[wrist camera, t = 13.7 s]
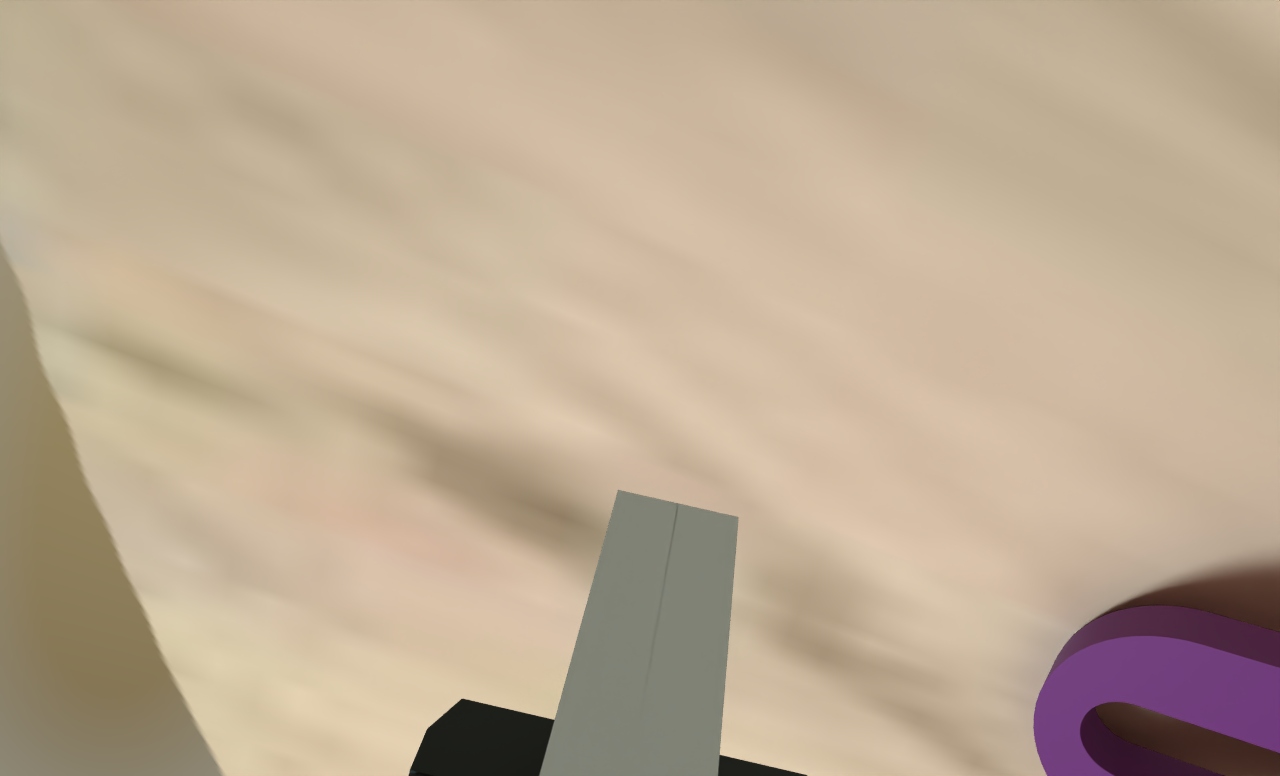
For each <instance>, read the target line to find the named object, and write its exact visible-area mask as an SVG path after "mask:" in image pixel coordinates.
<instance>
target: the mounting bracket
mask: <svg viewBox="0 0 1280 776" xmlns="http://www.w3.org/2000/svg"><path fill="white" fill-rule="evenodd" d="M1108 702H1124V703H1129V704H1133V705H1137V706H1140V707H1143V708H1146V709H1149V710H1152V711H1155V712H1158V713H1161V714H1164V715H1167V716H1170V717H1173V718H1176V719H1179V720H1182V721H1185V722H1188V723H1191V724H1194V725H1197V726H1200V727H1203V728H1206V729H1209V730H1212V731H1215V732H1218V733H1221V734H1224V735H1227V736H1230V737H1233V738H1236V739H1239V740H1242V741H1245V742H1248V743H1251V744H1254V745H1257V746H1260V747H1263V748H1266V749H1269V750H1272V751H1275V752H1278V753H1280V632H1277V631H1273V630H1270V629H1266V628H1263V627H1259V626H1256V625H1252V624H1249V623H1245V622H1242V621H1238V620H1235V619H1231V618H1228V617H1224V616H1221V615H1217V614H1214V613H1210V612H1206V611H1202V610H1198V609H1192V608H1186V607H1180V606H1165V605H1156V606H1140V607H1132V608H1128V609H1123V610H1119V611H1116V612H1113V613H1110V614H1107V615H1104V616H1102V617H1100V618H1098V619H1096V620H1094V621H1092V622H1090V623H1089V624H1087V625H1086V626H1084V627H1083V628H1081V629H1080V630H1079V631H1078V632H1076V633H1075V634H1074V635H1073V636H1072V637H1071V638H1070V640H1069V641H1068V642H1067V643H1066V644H1065V646H1064V647H1063V649H1062V650H1061V652H1060V653H1059V655H1058V656H1057V658H1056V660H1055V662H1054V664H1053V666H1052V668H1051V671H1050V673H1049V675H1048V677H1047V679H1046V681H1045V683H1044V685H1043V687H1042V689H1041V691H1040V693H1039V696H1038V699H1037V702H1036V707H1035V713H1034V736H1035V742H1036V747H1037V751H1038V754H1039V757H1040V760H1041V763H1042V765H1043V767H1044V769H1045V772H1046V774H1047V776H1224V775H1221V774H1218V773H1215V772H1212V771H1209V770H1206V769H1204V768H1201V767H1198V766H1195V765H1192V764H1189V763H1186V762H1183V761H1181V760H1178V759H1175V758H1172V757H1169V756H1166V755H1163V754H1160V753H1158V752H1155V751H1152V750H1149V749H1146V748H1143V747H1140V746H1138V745H1135V744H1132V743H1129V742H1127V741H1125V740H1123V739H1121V738H1119V737H1118V736H1116V735H1115V734H1113V733H1112V732H1111V731H1110V730H1109V729H1108V728H1107V727H1106V726H1105V725H1104V724H1103V723H1102V721H1101V720H1100V718H1099V717H1098V715H1097V713H1096V710H1095V706H1098V705H1100V704H1103V703H1108Z"/></svg>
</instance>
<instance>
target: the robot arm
mask: <svg viewBox="0 0 1280 776" xmlns="http://www.w3.org/2000/svg"><path fill="white" fill-rule="evenodd" d="M737 529H738V517H736V516H731V515H727V514H722V513H718V512H714V511H709V510H705V509H700V508H696V507H691V506H687V505H683V504H678V503H674V502H669V501H665V500H660V499H656V498H651V497H647V496H643V495H638V494H634V493H629V492H625V491H620V490H618V492H617V496H616V500H615V503H614V507H613V510H612V514H611V518H610V521H609V525H608V529H607V532H606V536H605V539H604V543H603V547H602V550H601V554H600V558H599V561H598V565H597V568H596V572H595V576H594V579H593V583H592V587H591V590H590V594H589V597H588V601H587V605H586V608H585V612H584V616H583V619H582V623H581V626H580V630H579V634H578V637H577V641H576V645H575V648H574V652H573V655H572V659H571V663H570V666H569V670H568V673H567V677H566V681H565V684H564V688H563V692H562V695H561V699H560V702H559V706H558V710H557V713H556V717H555V720H552V719H548V718H544V717H539V716H535V715H531V714H526V713H522V712H518V711H514V710H509V709H505V708H501V707H496V706H492V705H488V704H483V703H479V702H475V701H470V700H466V699H461V700H460V701H459V702H458V703H456V704H455V705H454V706H453V707H452V708H451V709H450V710H448V711H447V712H446V713H445V714H444V715H443V716H442V717H440V718H439V719H438V720H437V721H436V722H435V723H434V724H432V725H431V726H430V727H429V728H428V729H427V731H426V733H425V735H424V738H423V740H422V743H421V745H420V747H419V750H418V752H417V754H416V757H415V759H414V762H413V764H412V766H411V769H410V773H409V776H807V775H804V774H800V773H795V772H791V771H787V770H782V769H778V768H774V767H769V766H765V765H761V764H757V763H752V762H748V761H744V760H739V759H735V758H731V757H726V756H722V755H719V754H720V742H721V729H722V717H723V704H724V692H725V679H726V667H727V654H728V642H729V629H730V617H731V604H732V592H733V579H734V567H735V554H736V542H737Z"/></svg>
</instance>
